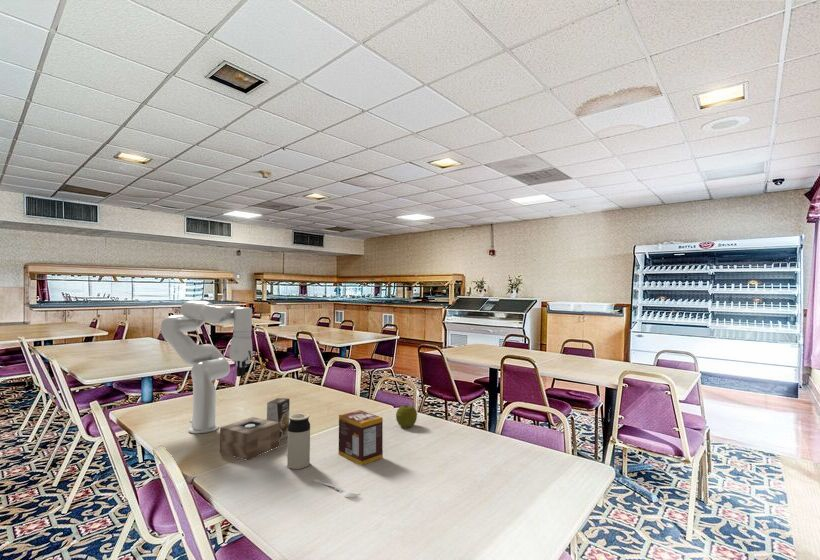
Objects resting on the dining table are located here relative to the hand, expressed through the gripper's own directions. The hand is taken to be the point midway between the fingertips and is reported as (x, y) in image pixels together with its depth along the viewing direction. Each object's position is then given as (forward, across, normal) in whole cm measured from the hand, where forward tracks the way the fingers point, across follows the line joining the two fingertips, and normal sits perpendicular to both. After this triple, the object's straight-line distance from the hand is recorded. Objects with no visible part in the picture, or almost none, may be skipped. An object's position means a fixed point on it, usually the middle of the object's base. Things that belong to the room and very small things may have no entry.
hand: (240, 375), depth 182 cm
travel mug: (+26, +46, -10) cm, 53 cm away
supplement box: (+26, +60, +8) cm, 66 cm away
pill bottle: (+26, +17, -8) cm, 32 cm away
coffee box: (+26, +16, +8) cm, 32 cm away
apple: (+25, +59, +48) cm, 80 cm away
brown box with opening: (+26, +18, -8) cm, 33 cm away
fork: (+26, +68, -18) cm, 75 cm away
